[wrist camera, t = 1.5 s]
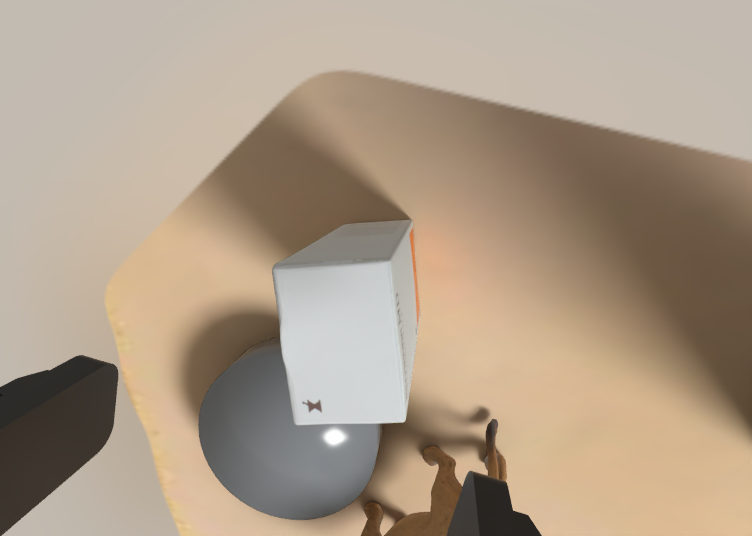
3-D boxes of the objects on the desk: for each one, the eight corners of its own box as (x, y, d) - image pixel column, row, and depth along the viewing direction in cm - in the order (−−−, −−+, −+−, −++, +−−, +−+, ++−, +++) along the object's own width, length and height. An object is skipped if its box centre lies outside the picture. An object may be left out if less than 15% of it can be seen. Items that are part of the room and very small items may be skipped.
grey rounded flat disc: (401, 363, 28) (396, 385, 25) (362, 506, 31) (353, 541, 28) (234, 315, 29) (211, 333, 26) (211, 459, 32) (188, 489, 29)
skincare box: (422, 316, 27) (407, 429, 16) (353, 319, 28) (289, 430, 16) (415, 214, 26) (392, 257, 14) (342, 220, 26) (264, 266, 15)
